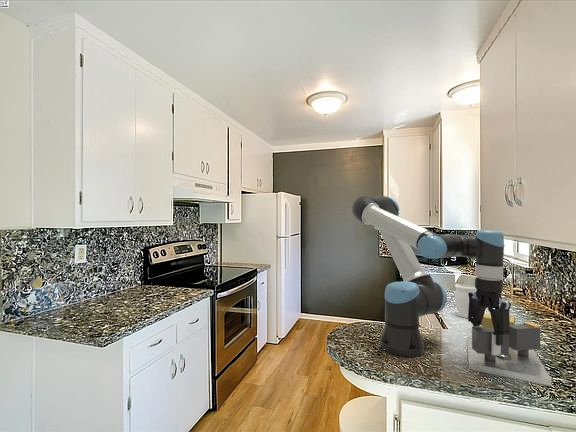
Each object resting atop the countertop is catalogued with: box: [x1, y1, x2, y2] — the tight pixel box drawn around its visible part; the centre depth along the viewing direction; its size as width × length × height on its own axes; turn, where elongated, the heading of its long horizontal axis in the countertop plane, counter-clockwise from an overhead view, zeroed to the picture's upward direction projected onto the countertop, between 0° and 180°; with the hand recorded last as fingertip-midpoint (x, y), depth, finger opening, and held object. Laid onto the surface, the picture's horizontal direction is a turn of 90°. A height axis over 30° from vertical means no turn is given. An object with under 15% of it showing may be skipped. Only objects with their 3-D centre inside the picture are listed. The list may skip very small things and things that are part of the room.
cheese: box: [480, 313, 516, 328], centre depth 118 cm, size 10×11×10 cm
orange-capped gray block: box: [509, 321, 541, 357], centre depth 101 cm, size 9×4×10 cm, turn 99°
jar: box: [454, 283, 477, 319], centre depth 150 cm, size 11×10×15 cm
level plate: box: [466, 337, 552, 387], centre depth 101 cm, size 20×24×3 cm
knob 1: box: [471, 326, 509, 362], centre depth 98 cm, size 9×4×10 cm, turn 80°
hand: (486, 350), depth 98 cm, fingers closed on knob 1, 6 cm apart
